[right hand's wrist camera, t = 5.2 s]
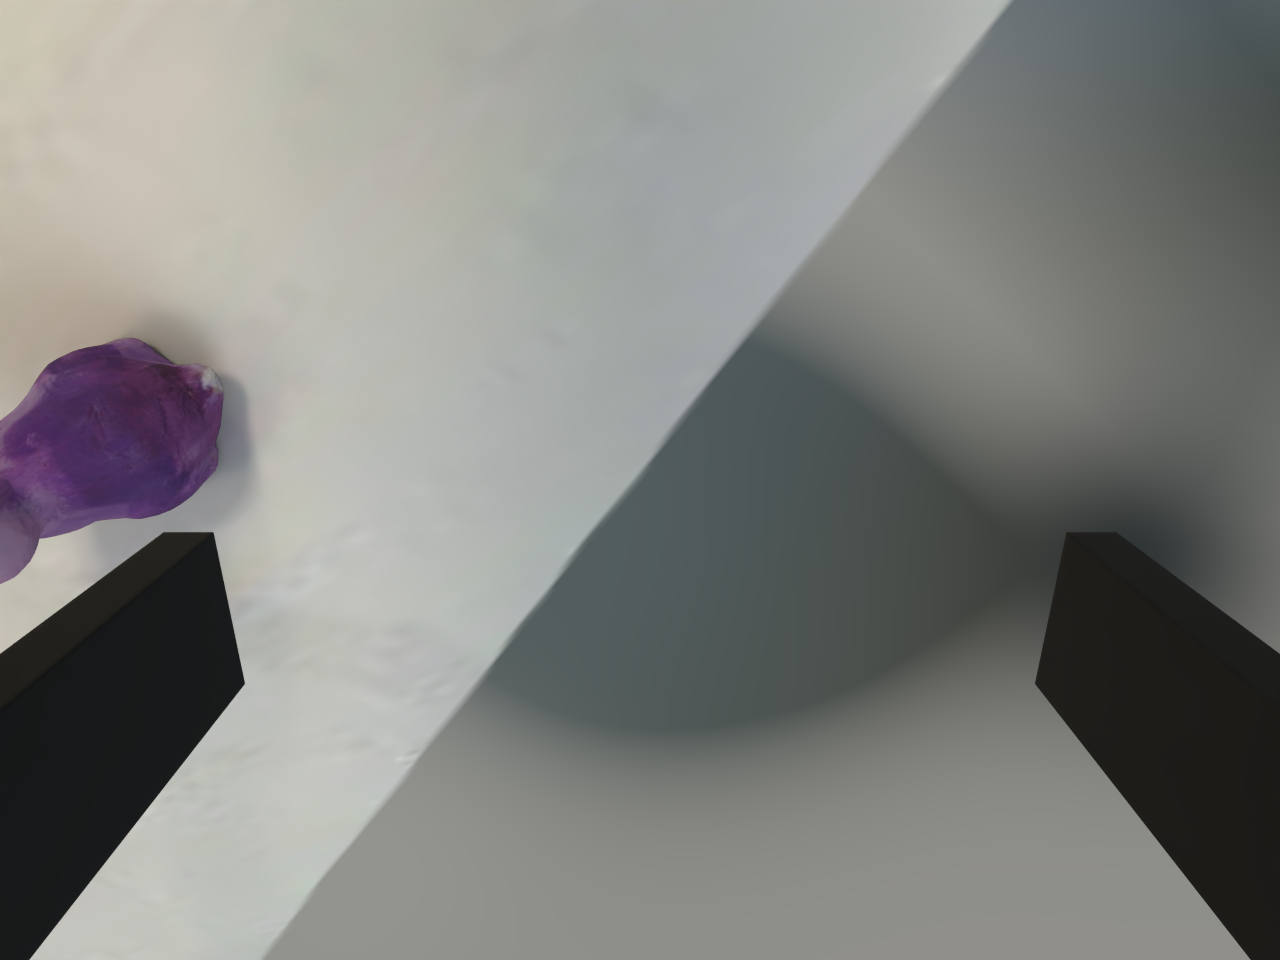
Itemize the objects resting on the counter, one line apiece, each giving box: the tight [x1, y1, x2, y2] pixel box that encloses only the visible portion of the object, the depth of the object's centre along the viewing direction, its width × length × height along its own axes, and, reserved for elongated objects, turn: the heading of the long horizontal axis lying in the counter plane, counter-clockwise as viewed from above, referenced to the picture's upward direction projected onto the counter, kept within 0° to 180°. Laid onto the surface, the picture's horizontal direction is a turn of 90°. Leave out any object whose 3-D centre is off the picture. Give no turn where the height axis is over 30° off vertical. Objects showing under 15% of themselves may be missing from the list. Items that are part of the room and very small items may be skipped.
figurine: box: [0, 338, 223, 584], centre depth 34 cm, size 9×10×15 cm
